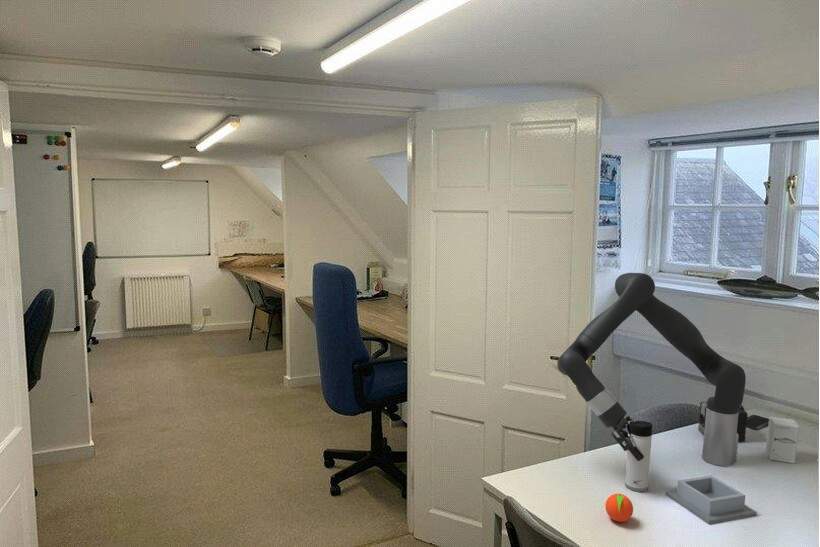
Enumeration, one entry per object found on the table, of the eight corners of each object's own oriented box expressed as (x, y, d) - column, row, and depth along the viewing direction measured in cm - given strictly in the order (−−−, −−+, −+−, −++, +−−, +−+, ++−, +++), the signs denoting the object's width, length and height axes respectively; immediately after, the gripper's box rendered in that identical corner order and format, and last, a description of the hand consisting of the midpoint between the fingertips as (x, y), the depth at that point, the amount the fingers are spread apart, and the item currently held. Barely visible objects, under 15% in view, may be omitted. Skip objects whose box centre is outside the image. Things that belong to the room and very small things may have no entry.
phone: (775, 420, 228) (756, 429, 220) (774, 423, 229) (756, 431, 220) (753, 414, 235) (734, 422, 226) (753, 417, 235) (734, 424, 226)
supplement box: (769, 460, 195) (772, 423, 194) (765, 451, 202) (768, 415, 200) (795, 464, 192) (799, 427, 191) (790, 455, 199) (794, 419, 198)
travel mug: (638, 494, 171) (643, 427, 168) (620, 484, 176) (624, 419, 174) (653, 490, 174) (658, 424, 171) (635, 480, 179) (640, 416, 177)
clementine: (632, 531, 152) (634, 505, 151) (603, 525, 154) (605, 500, 153) (632, 516, 159) (634, 491, 158) (605, 510, 161) (606, 486, 161)
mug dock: (709, 487, 176) (711, 471, 175) (755, 515, 161) (757, 497, 160) (665, 494, 171) (666, 478, 170) (708, 524, 156) (710, 506, 155)
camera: (694, 428, 221) (697, 389, 219) (734, 431, 219) (738, 392, 217) (704, 440, 210) (708, 399, 208) (746, 443, 208) (750, 402, 206)
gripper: (610, 408, 170) (650, 456, 165) (621, 394, 182) (659, 439, 177) (590, 421, 173) (628, 469, 169) (602, 407, 185) (639, 452, 181)
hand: (644, 454), depth 173 cm, fingers open, 7 cm apart
